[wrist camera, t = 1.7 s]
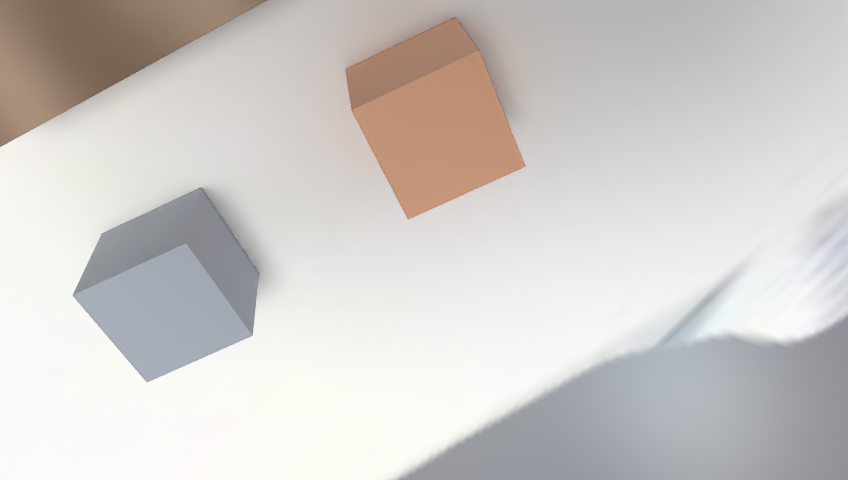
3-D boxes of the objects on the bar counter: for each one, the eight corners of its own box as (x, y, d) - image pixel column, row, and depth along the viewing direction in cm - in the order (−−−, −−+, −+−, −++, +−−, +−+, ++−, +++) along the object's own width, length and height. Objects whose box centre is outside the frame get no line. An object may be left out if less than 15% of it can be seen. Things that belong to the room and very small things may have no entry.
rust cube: (454, 16, 31) (479, 50, 27) (497, 120, 34) (525, 166, 29) (345, 68, 32) (351, 110, 27) (395, 167, 34) (408, 219, 30)
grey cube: (201, 186, 33) (186, 243, 29) (258, 272, 36) (252, 335, 31) (102, 232, 34) (72, 295, 29) (165, 313, 36) (146, 382, 32)
